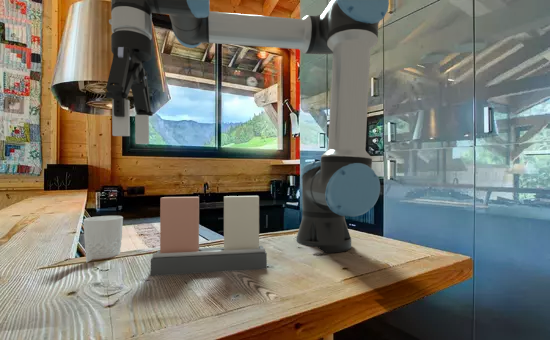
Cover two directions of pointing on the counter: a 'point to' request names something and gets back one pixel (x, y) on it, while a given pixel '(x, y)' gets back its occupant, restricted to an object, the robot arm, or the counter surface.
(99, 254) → the white cup
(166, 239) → the panel
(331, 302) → the counter surface
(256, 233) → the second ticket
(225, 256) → the grey stand base
